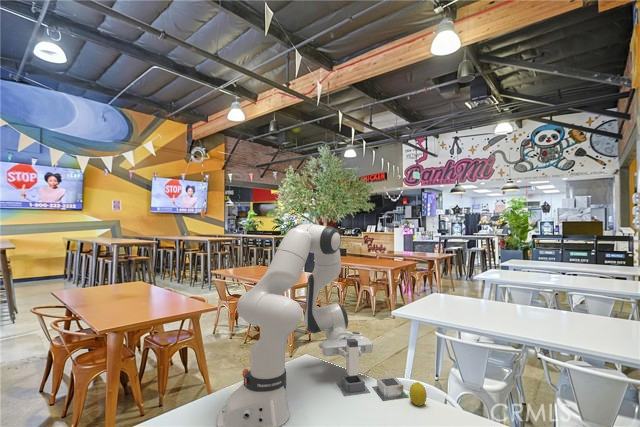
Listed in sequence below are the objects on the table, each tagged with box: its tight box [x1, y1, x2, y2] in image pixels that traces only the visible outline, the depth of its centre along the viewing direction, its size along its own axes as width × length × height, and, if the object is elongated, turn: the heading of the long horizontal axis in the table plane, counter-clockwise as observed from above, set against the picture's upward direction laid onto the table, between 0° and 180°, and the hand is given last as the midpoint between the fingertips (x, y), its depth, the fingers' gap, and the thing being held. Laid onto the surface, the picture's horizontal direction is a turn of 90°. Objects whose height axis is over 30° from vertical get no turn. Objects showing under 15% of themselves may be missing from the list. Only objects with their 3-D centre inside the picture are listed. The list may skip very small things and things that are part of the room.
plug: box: [345, 339, 360, 376], centre depth 118 cm, size 4×4×12 cm
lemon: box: [408, 381, 427, 407], centre depth 107 cm, size 6×6×8 cm
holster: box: [336, 374, 371, 397], centre depth 118 cm, size 10×10×4 cm
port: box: [371, 376, 410, 402], centre depth 114 cm, size 10×10×4 cm
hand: (353, 354), depth 117 cm, fingers closed on plug, 4 cm apart
